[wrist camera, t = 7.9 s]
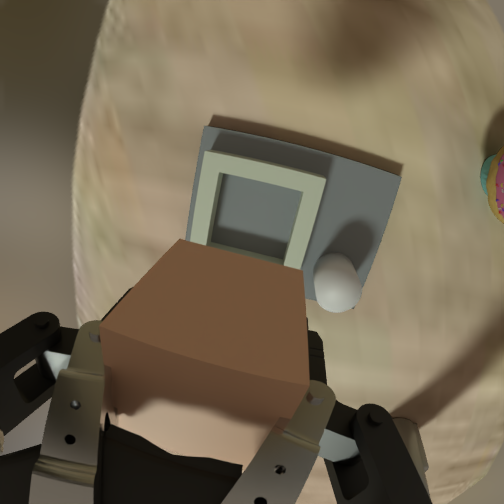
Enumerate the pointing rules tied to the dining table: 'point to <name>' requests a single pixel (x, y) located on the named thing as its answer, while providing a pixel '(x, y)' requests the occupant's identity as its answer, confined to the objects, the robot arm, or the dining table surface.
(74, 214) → the dining table surface
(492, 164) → the cupcake
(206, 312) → the block
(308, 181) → the base board
